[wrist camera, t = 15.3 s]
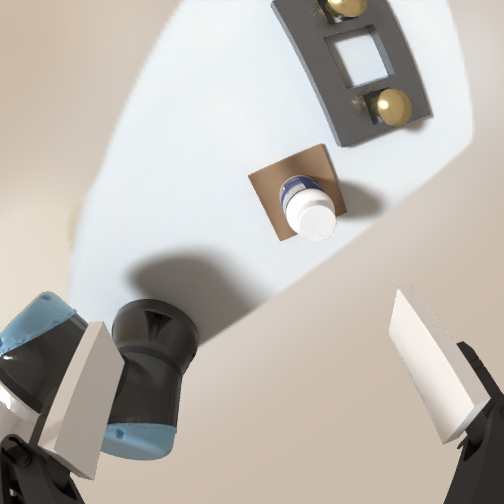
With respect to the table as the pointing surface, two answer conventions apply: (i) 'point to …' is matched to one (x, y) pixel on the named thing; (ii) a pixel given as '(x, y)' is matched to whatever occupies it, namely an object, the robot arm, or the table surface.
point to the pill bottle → (307, 208)
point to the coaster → (276, 174)
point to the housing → (328, 76)
